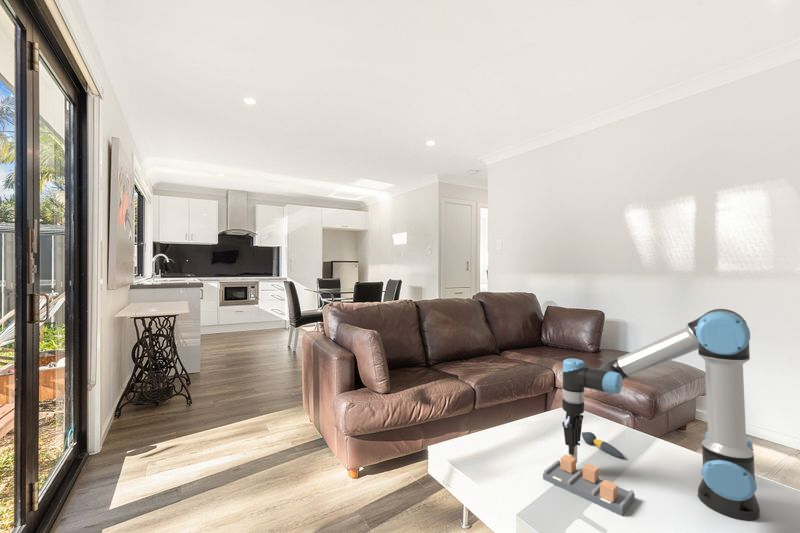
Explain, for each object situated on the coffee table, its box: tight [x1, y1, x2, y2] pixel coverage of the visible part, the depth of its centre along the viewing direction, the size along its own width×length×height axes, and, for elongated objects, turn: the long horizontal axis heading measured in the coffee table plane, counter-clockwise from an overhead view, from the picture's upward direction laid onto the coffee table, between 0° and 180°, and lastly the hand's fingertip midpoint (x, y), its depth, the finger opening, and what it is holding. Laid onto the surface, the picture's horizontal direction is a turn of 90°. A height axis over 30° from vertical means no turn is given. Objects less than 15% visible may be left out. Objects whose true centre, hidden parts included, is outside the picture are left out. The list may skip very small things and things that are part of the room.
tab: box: [600, 479, 619, 502], centre depth 121 cm, size 4×4×4 cm
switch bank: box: [542, 459, 636, 517], centre depth 128 cm, size 26×12×3 cm, turn 41°
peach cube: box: [582, 462, 600, 483], centre depth 131 cm, size 4×4×4 cm
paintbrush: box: [581, 431, 625, 459], centre depth 156 cm, size 20×5×5 cm, turn 31°
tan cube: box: [560, 454, 577, 473], centre depth 137 cm, size 4×4×4 cm
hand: (572, 461), depth 140 cm, fingers closed
